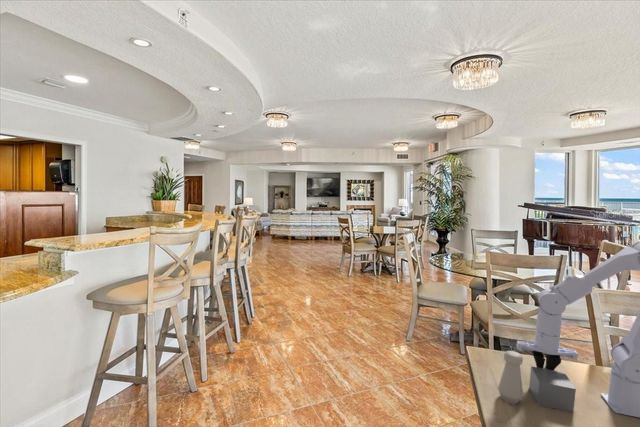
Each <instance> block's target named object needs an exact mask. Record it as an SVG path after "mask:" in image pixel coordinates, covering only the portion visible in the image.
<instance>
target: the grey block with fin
mask: <svg viewBox="0 0 640 427" xmlns="http://www.w3.org/2000/svg"><path fill="white" fill-rule="evenodd" d="M529 374H530V375H529V385H528V388H529V390H530V393H531V394H532V397H533V398H534V401H535V403H536V405H538V406H543V407H547V408H552V409H557V410H562V411H566V412H570V413H574V409H575V401H576V400H575V399H576V390H577V389H576V387H575V386H574V384H573V382H572V381H571V380H570V378H569V377H568V375H567V374H566V373H565V371H564V372H563V371H558V370H548V369H547V367H546V363H544V367H543V368H538V367H537V366H532V365H531V366H530V373H529Z"/></svg>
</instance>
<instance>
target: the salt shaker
mask: <svg viewBox="0 0 640 427" xmlns="http://www.w3.org/2000/svg"><path fill="white" fill-rule="evenodd" d="M503 360H504V361H505V364H504V368H503V370H502V371H503V372H502V375H501V377H500V381H499V383H498V384H499V385H498V387H497V389H498V392H499V394H500V398H501V400H503V401H504V402H506V403H507V404H510V405H517V404H518V403H519V402H520V401H521V400H522V399H523V397H524V396H523V394H524V390H523V381H522V373H521V365H522V364H523V361H524V358H523V356H522V354H521V353H519V352H517V351H513V350H507V351H505V352H504V355H503Z"/></svg>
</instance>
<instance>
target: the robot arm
mask: <svg viewBox="0 0 640 427" xmlns="http://www.w3.org/2000/svg"><path fill="white" fill-rule="evenodd" d="M623 271H638V272H640V240H639V241H636V242H635V243H633V244H631V246H626V247H624V248H622V249H621V250H619V251H618V252H617V253H615V254H614V255H612V256H610V257H609V258H607V259H606V260H604V261H602V262H601V263H600V264H598V265H597V266H595V267H594V268H592V269H590V270H589V271H588V272H586V273H584V274H572V275H570V274H567V275H566V276H565V277H564V278H565V279H563V280H562V281H561V282H559V283H556V284H555V285H550V286H549V288H548V289H544V290H541V291H540V292H539V293H538V295H537V301H538V304H539V306H538V309H537V310H538V313H537V317H536V326H535V337H534V338H535V339H534V341H522V340H517V341H516V349H517V350H518V351H527V352H529V351H530V352H531V353H532V356H533V359H534V362H535V365H536V366H535V367H538V368H543V367H544V364H545V366H546V367H547V369H548V370H554V371H556V368H557V367H559V365H560V364H561V363H562V359H561V357H564V358H570V359H572V360H575V361H577V360H578V355H579V353H578V352H577V351H576V349H570V348H567V347H563V346H560V340H561V333H562V332H561V331H562V330H561V329H562V323H563V322H562V321H563V319H562V314H563V313H564V312H565V310H566V307H567V306H568V305H571V304H573V303H575V302H576V301H579V300H581V299H583V298H584V297H586V296H588V295H589V294H591V293H592V291H593V287H594V286H595V285H597V284H600V283H602V282H603V281H605V280H607V279H610V278H611V277H613V276H616V275H617V274H619V273H622V272H623ZM544 355H545V357H544ZM610 356H611V359H612V360H613V361H614V364H613V365H612V366H611V369H610V377H609V378H610V379H609V387H608V393H604V392H601V393H600V396H601V397H602V399H604V400H605V402H606V403H607V405H608V406H609V407H610V409H611V410H612V411H613V412H614V413H615V414H621V415H625V416H629V417H630V416H631V417H636V418H640V310H639V311H638V313H637V316H636V318H635V319H634V322H633V323H632V326H631V328H630V329H629V332H628V334H627V335H625V336H623V337H621V339H620V341H619V342H618V343H617V344H615V345H613V347H612V348H611V349H610Z"/></svg>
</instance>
